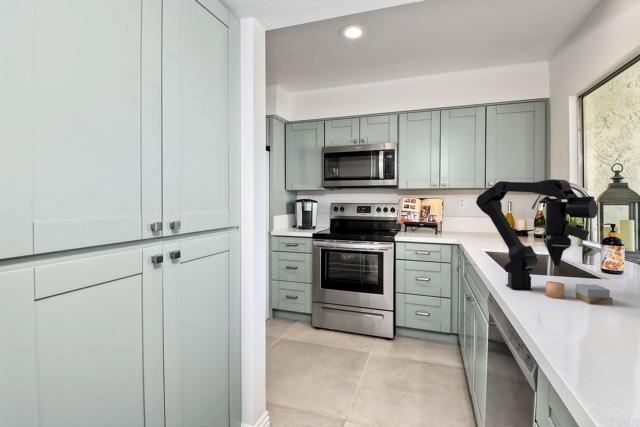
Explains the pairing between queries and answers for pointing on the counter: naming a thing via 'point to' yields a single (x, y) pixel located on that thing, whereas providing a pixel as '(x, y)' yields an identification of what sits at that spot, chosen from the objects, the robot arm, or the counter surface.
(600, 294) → the top slab
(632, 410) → the counter surface
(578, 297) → the base slab
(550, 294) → the tan rounded lump
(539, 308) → the counter surface
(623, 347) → the counter surface
